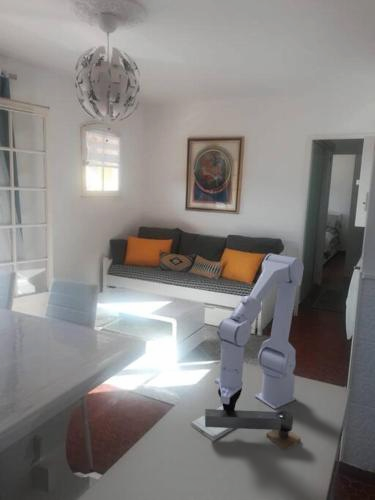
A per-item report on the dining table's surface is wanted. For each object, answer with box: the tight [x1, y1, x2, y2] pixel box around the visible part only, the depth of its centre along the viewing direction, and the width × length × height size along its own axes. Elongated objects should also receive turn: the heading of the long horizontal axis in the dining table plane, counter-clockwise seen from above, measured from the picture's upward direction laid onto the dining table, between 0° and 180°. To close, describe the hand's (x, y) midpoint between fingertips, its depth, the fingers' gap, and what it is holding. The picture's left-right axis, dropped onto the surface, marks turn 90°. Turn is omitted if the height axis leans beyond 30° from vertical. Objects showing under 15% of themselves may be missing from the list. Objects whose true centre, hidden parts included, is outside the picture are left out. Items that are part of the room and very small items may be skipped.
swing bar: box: [204, 408, 294, 432], centre depth 96 cm, size 22×4×3 cm, turn 89°
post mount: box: [265, 430, 302, 451], centre depth 97 cm, size 6×6×3 cm
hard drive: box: [190, 405, 235, 442], centre depth 102 cm, size 2×8×12 cm
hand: (228, 414), depth 99 cm, fingers closed
